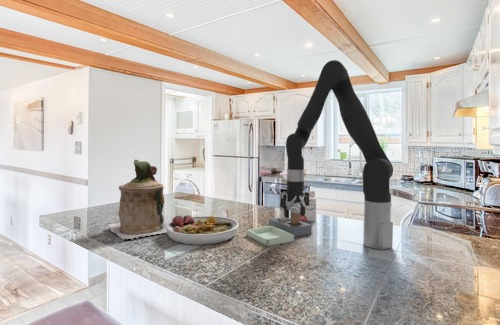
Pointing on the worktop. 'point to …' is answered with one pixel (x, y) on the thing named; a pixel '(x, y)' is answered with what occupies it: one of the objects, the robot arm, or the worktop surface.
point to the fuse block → (291, 227)
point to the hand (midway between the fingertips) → (294, 216)
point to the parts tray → (270, 235)
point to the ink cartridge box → (309, 208)
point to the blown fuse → (295, 216)
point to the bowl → (201, 229)
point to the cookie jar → (141, 205)
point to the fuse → (282, 215)
